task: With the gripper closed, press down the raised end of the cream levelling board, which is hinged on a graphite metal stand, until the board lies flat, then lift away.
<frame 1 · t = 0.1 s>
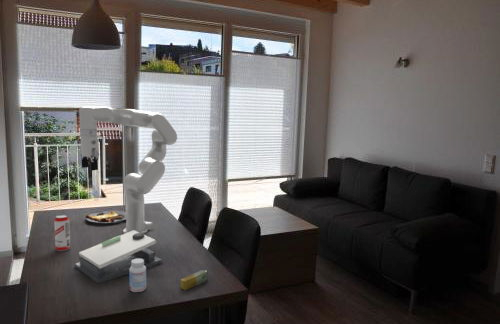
hand: (89, 168, 195), 37 cm above the table, tool pointing down, fingers open, 9 cm apart
pill bottle: (138, 289, 153), on the table
medication box: (194, 285, 159), on the table
level stand: (119, 264, 175), on the table
food plate: (108, 220, 238), on the table
beer can: (63, 249, 191), on the table
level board: (117, 245, 173), point 9 cm above the table, hinge at 9.0°
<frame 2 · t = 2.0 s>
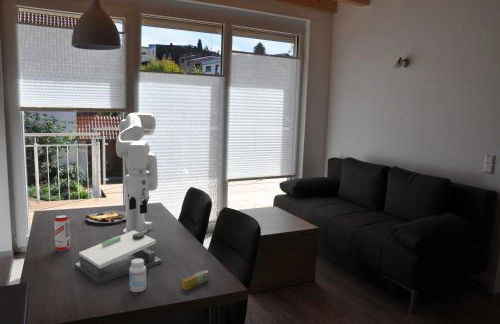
hand: (138, 210, 178), 22 cm above the table, tool pointing down, fingers open, 8 cm apart
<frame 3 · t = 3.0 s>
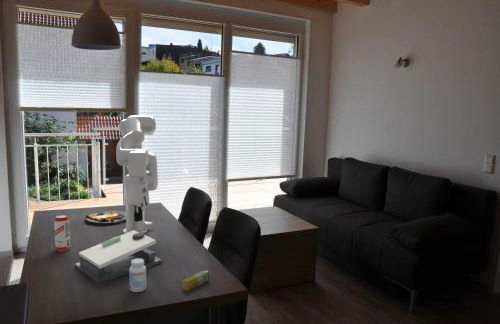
hand: (138, 220, 178), 18 cm above the table, tool pointing down, fingers closed
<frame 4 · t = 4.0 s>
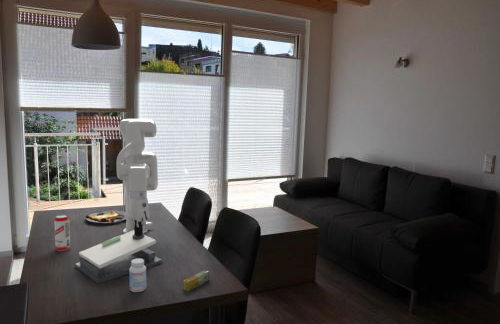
hand: (138, 234, 179), 11 cm above the table, tool pointing down, fingers closed
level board: (117, 245, 173), point 9 cm above the table, hinge at 9.0°, touching gripper
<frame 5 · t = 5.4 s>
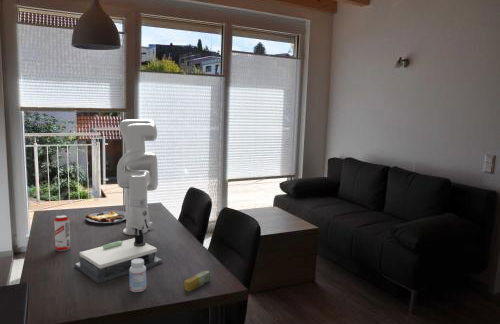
hand: (139, 242, 180), 8 cm above the table, tool pointing down, fingers closed
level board: (118, 249, 174), point 7 cm above the table, hinge at 0.4°, touching gripper
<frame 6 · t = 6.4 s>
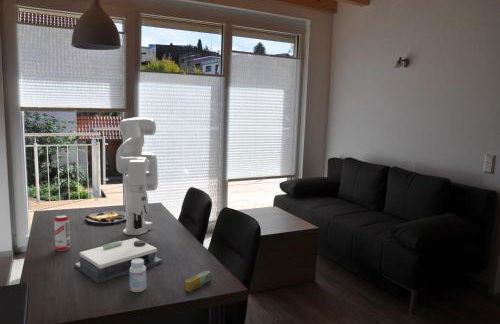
hand: (137, 227, 181), 14 cm above the table, tool pointing down, fingers closed
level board: (118, 249, 174), point 7 cm above the table, hinge at 0.4°
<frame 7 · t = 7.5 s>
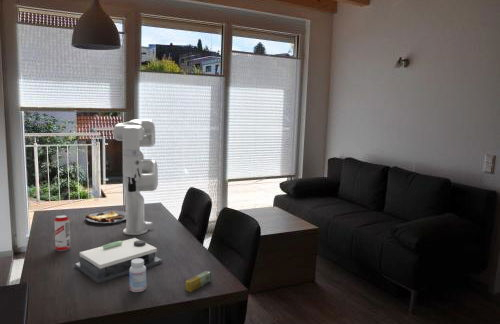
hand: (132, 191, 193), 27 cm above the table, tool pointing down, fingers closed
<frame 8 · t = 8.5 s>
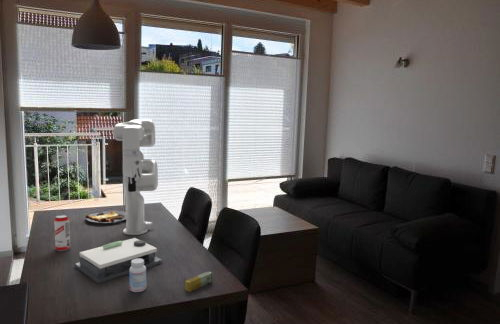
hand: (132, 191, 193), 27 cm above the table, tool pointing down, fingers closed
at the end: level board at +0° (first picture: +9°) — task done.
